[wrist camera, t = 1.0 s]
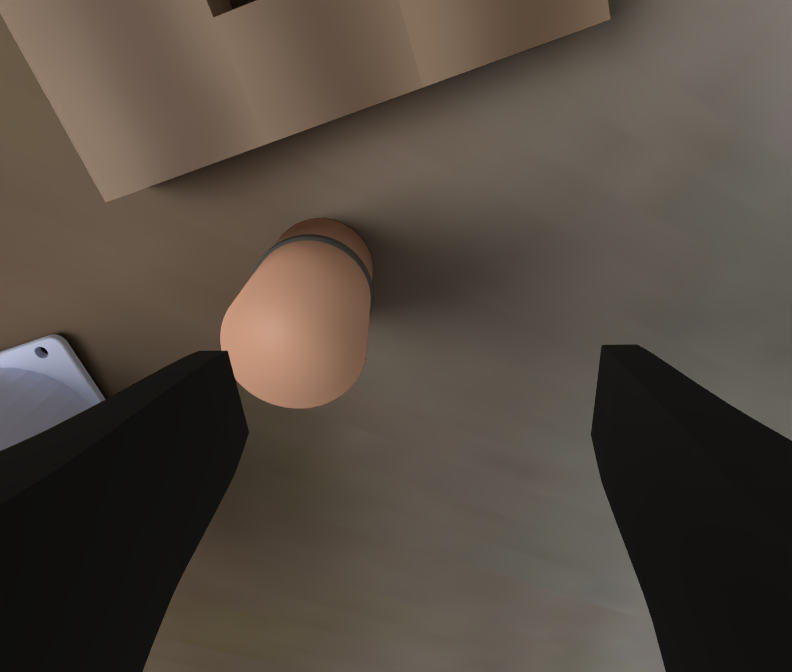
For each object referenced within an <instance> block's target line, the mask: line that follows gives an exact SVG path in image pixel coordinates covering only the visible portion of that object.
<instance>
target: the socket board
mask: <svg viewBox="0 0 792 672" xmlns="http://www.w3.org/2000/svg"><path fill="white" fill-rule="evenodd" d="M0 14H1V15H2V17H3V19H4V21H5V23H6V24H7V26H8V28H9V30H10V32H11V33H12V35H13V37H14V39H15V41H16V42H17V44H18V46H19V48H20V50H21V51H22V53H23V55H24V57H25V59H26V60H27V62H28V64H29V66H30V67H31V69H32V71H33V73H34V75H35V76H36V78H37V80H38V82H39V84H40V85H41V87H42V89H43V91H44V93H45V94H46V96H47V98H48V100H49V102H50V103H51V105H52V107H53V109H54V111H55V112H56V114H57V116H58V118H59V120H60V121H61V123H62V125H63V127H64V129H65V130H66V132H67V134H68V136H69V138H70V139H71V141H72V143H73V145H74V147H75V148H76V150H77V152H78V154H79V156H80V157H81V159H82V161H83V163H84V165H85V166H86V168H87V170H88V172H89V174H90V175H91V177H92V179H93V181H94V183H95V184H96V186H97V188H98V190H99V192H100V193H101V195H102V197H103V199H104V201H105V202H108V201H111V200H114V199H117V198H119V197H122V196H125V195H128V194H131V193H133V192H136V191H139V190H142V189H144V188H147V187H150V186H153V185H155V184H158V183H161V182H164V181H166V180H169V179H172V178H175V177H177V176H180V175H183V174H186V173H188V172H191V171H194V170H197V169H199V168H202V167H205V166H208V165H210V164H213V163H216V162H219V161H222V160H224V159H227V158H230V157H233V156H235V155H238V154H241V153H244V152H246V151H249V150H252V149H255V148H257V147H260V146H263V145H266V144H268V143H271V142H274V141H277V140H279V139H282V138H285V137H288V136H290V135H293V134H296V133H299V132H301V131H304V130H307V129H310V128H312V127H315V126H318V125H321V124H324V123H326V122H329V121H332V120H335V119H337V118H340V117H343V116H346V115H348V114H351V113H354V112H357V111H359V110H362V109H365V108H368V107H370V106H373V105H376V104H379V103H381V102H384V101H387V100H390V99H392V98H395V97H398V96H401V95H403V94H406V93H409V92H412V91H415V90H417V89H420V88H423V87H426V86H428V85H431V84H434V83H437V82H439V81H442V80H445V79H448V78H450V77H453V76H456V75H459V74H461V73H464V72H467V71H470V70H472V69H475V68H478V67H481V66H483V65H486V64H489V63H492V62H494V61H497V60H500V59H503V58H506V57H508V56H511V55H514V54H517V53H519V52H522V51H525V50H528V49H530V48H533V47H536V46H539V45H541V44H544V43H547V42H550V41H552V40H555V39H558V38H561V37H563V36H566V35H569V34H572V33H574V32H577V31H580V30H583V29H585V28H588V27H591V26H594V25H597V24H599V23H602V22H605V21H608V20H610V19H611V18H610V11H609V4H608V0H256V1H253V2H251V3H248V4H246V5H243V6H241V7H238V8H236V9H233V8H232V6H231V3H230V0H0Z"/></svg>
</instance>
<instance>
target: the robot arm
mask: <svg viewBox="0 0 792 672" xmlns="http://www.w3.org/2000/svg"><path fill="white" fill-rule="evenodd" d="M40 347H43V348H45V349H46V350H47V352H48V354H46V353H44V352H43V351H42V350H41V348H40ZM248 433H249V431H248V427H247V423H246V419H245V415H244V411H243V408H242V404H241V400H240V396H239V392H238V388H237V385H236V381H235V377H234V373H233V369H232V365H231V361H230V358H229V354H228V351H198V352H196V353H193V354H190V355H188V356H186V357H184V358H182V359H180V360H178V361H176V362H174V363H172V364H170V365H168V366H166V367H164V368H162V369H160V370H159V371H157V372H155V373H153V374H151V375H149V376H148V377H146V378H144V379H142V380H140V381H139V382H137V383H135V384H133V385H131V386H129V387H128V388H126V389H124V390H122V391H120V392H119V393H117V394H115V395H113V396H111V397H109V398H108V399H105V398H104V396H103V395H102V393H101V392H100V390H99V389H98V387H97V386H96V384H95V383H94V381H93V380H92V378H91V377H90V375H89V374H88V372H87V371H86V369H85V368H84V366H83V365H82V363H81V362H80V360H79V358H78V357H77V355H76V354H75V352H74V351H73V349H72V348H71V346H70V345H69V343H68V342H67V341H66V340H65V339H64V338H63V337H61V336H60V335H55V334H53V335H48V336H45V337H42V338H39V339H36V340H33V341H30V342H27V343H24V344H21V345H18V346H15V347H12V348H9V349H6V350H3V351H0V672H142V671H143V669H144V666H145V663H146V661H147V658H148V655H149V653H150V650H151V647H152V645H153V642H154V640H155V637H156V635H157V632H158V630H159V627H160V625H161V622H162V620H163V617H164V615H165V613H166V610H167V608H168V605H169V603H170V600H171V598H172V596H173V593H174V591H175V589H176V587H177V585H178V583H179V581H180V579H181V577H182V574H183V572H184V571H185V569H186V567H187V565H188V563H189V561H190V559H191V557H192V555H193V553H194V552H195V550H196V548H197V546H198V544H199V542H200V540H201V538H202V536H203V534H204V533H205V531H206V529H207V527H208V525H209V523H210V521H211V519H212V517H213V515H214V514H215V512H216V510H217V508H218V506H219V504H220V502H221V500H222V498H223V496H224V494H225V492H226V490H227V488H228V486H229V484H230V482H231V480H232V478H233V476H234V474H235V471H236V469H237V466H238V463H239V460H240V458H241V455H242V452H243V449H244V446H245V443H246V440H247V437H248ZM591 437H592V441H593V446H594V451H595V455H596V460H597V464H598V469H599V473H600V477H601V481H602V484H603V487H604V490H605V493H606V495H607V498H608V501H609V503H610V506H611V509H612V512H613V514H614V517H615V520H616V522H617V525H618V528H619V530H620V533H621V536H622V538H623V541H624V543H625V546H626V549H627V551H628V554H629V557H630V559H631V562H632V565H633V567H634V570H635V573H636V575H637V578H638V581H639V583H640V586H641V589H642V591H643V594H644V597H645V600H646V603H647V606H648V609H649V612H650V615H651V618H652V621H653V625H654V629H655V632H656V636H657V640H658V644H659V647H660V651H661V655H662V659H663V663H664V666H665V670H666V672H792V441H791V440H789V439H787V438H786V437H784V436H782V435H780V434H779V433H777V432H775V431H773V430H772V429H770V428H768V427H767V426H765V425H763V424H761V423H760V422H758V421H756V420H754V419H753V418H751V417H749V416H748V415H746V414H744V413H743V412H741V411H739V410H738V409H736V408H735V407H733V406H731V405H730V404H728V403H726V402H725V401H723V400H722V399H720V398H719V397H717V396H716V395H714V394H712V393H711V392H709V391H708V390H706V389H705V388H703V387H702V386H700V385H699V384H697V383H696V382H694V381H693V380H691V379H690V378H688V377H687V376H685V375H684V374H682V373H681V372H679V371H678V370H676V369H675V368H673V367H672V366H670V365H669V364H667V363H666V362H664V361H663V360H661V359H660V358H658V357H657V356H655V355H654V354H652V353H651V352H649V351H647V350H646V349H644V348H642V347H640V346H639V345H602V347H601V356H600V364H599V372H598V381H597V389H596V397H595V406H594V414H593V422H592V431H591Z"/></svg>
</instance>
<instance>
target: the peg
mask: <svg viewBox="0 0 792 672" xmlns="http://www.w3.org/2000/svg"><path fill="white" fill-rule="evenodd" d="M372 278H373V263H372V258H371V255H370V252H369V250H368V247H367V246H366V244H365V242H364V241H363V240H362V238H361V237H360V236H359V235H358V234H357V233H356V232H355V231H353V230H352V229H351V228H349V227H348V226H346V225H344V224H342V223H340V222H337V221H334V220H330V219H317V218H316V219H309V220H305V221H302V222H300V223H297V224H295V225H294V226H292V227H290V228H289V229H288V230H287V231H286V232H285V233H284V234H283V235H282V236H281V237H280V239H279V240H278V241H277V243H276V244H275V245H274V246H273V247H272V248H271V249H269V251H268V252H267V253H266V254H265V255H264V256H263V257H262V259H261V260H260V262H259V263H258V265H257V266H256V268H255V270H254V272H253V275H252V277H251V278H250V279H249V281H248V282H247V284H246V285H245V286H244V288H243V289H242V290H241V292H240V293H239V294H238V296H237V297H236V299H235V300H234V301H233V303H232V304H231V306H230V307H229V308H228V310H227V312H226V314H225V316H224V319H223V322H222V326H221V333H220V344H221V351H228V354H229V358H230V361H231V365H232V369H233V373H234V377H235V379H236V380H237V381H238V383H239V384H240V385H241V386H243V387H244V388H245V389H246V390H247V391H248V392H250V393H251V394H253V395H254V396H256V397H257V398H259V399H261V400H263V401H265V402H268V403H271V404H273V405H276V406H281V407H285V408H312V407H316V406H321V405H324V404H326V403H329V402H331V401H333V400H335V399H337V398H338V397H340V396H341V395H343V394H344V393H345V392H346V391H348V390H349V389H350V388H351V387H352V385H353V384H354V383H355V382H356V380H357V379H358V377H359V376H360V374H361V372H362V369H363V367H364V363H365V360H366V353H367V341H368V329H369V318H370V315H371V311H372V306H373V285H372Z"/></svg>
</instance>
